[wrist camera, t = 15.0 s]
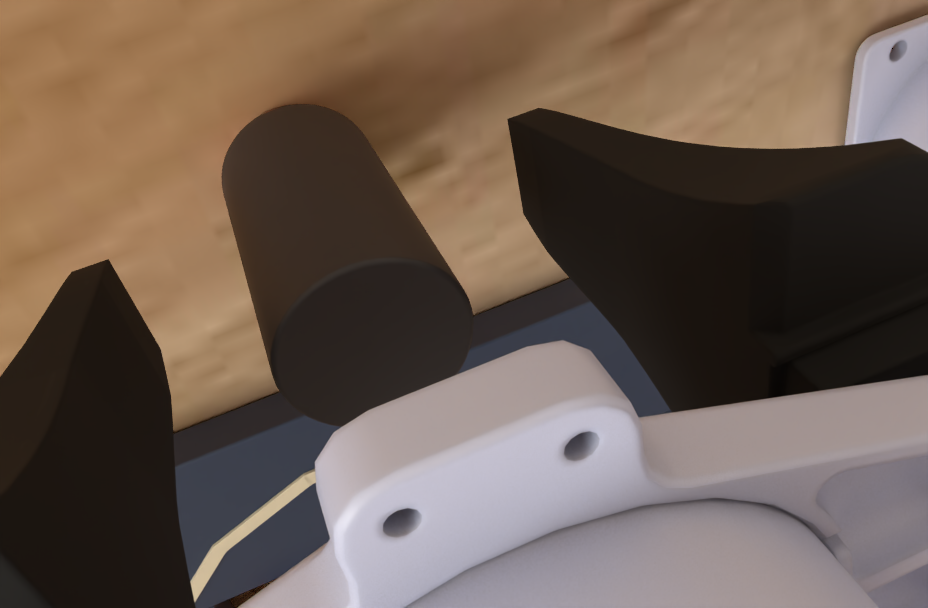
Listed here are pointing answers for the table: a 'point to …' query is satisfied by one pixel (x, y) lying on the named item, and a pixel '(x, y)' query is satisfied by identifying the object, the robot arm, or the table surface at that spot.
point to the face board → (302, 439)
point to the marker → (339, 267)
